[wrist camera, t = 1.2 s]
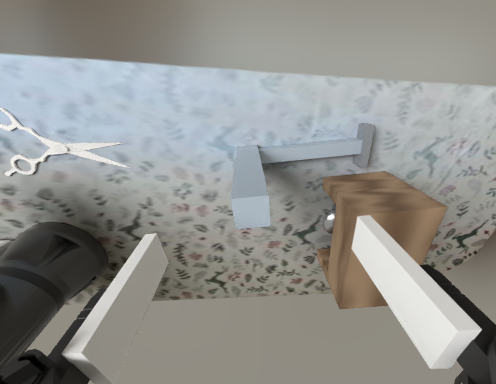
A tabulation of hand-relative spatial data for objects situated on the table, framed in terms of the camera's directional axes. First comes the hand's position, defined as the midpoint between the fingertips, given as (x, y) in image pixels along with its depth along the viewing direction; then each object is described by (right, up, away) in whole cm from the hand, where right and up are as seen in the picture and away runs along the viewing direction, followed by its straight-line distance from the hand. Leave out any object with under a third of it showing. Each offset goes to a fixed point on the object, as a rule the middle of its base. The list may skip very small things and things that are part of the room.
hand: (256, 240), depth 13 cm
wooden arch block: (+18, -2, +23) cm, 29 cm away
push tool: (+7, +10, +17) cm, 21 cm away
